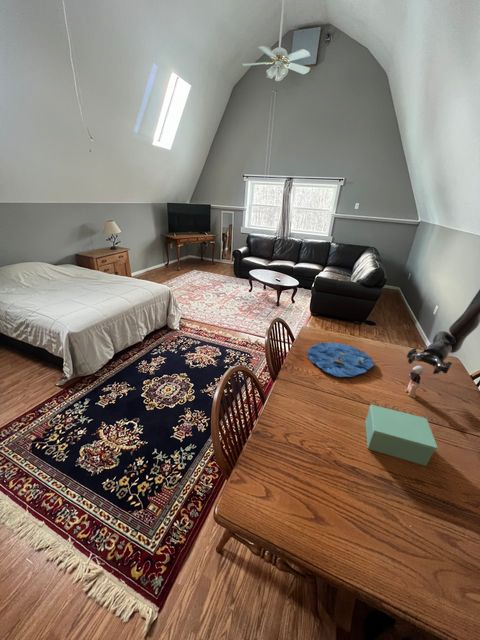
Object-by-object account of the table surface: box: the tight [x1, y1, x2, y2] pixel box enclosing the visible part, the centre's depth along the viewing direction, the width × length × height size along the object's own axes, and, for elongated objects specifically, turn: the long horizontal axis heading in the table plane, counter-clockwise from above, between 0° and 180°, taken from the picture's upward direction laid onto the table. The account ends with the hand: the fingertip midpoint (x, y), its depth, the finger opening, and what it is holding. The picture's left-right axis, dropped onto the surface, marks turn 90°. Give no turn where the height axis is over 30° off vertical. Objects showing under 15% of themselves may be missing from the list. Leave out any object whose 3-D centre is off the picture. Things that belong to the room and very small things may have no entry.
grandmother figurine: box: [404, 365, 424, 398], centre depth 103 cm, size 8×4×13 cm, turn 0°
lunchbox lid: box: [369, 404, 439, 451], centre depth 81 cm, size 16×12×1 cm
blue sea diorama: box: [306, 341, 375, 378], centre depth 124 cm, size 30×30×5 cm
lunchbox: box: [364, 407, 436, 467], centre depth 82 cm, size 16×12×7 cm
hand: (422, 366), depth 103 cm, fingers open, 8 cm apart
